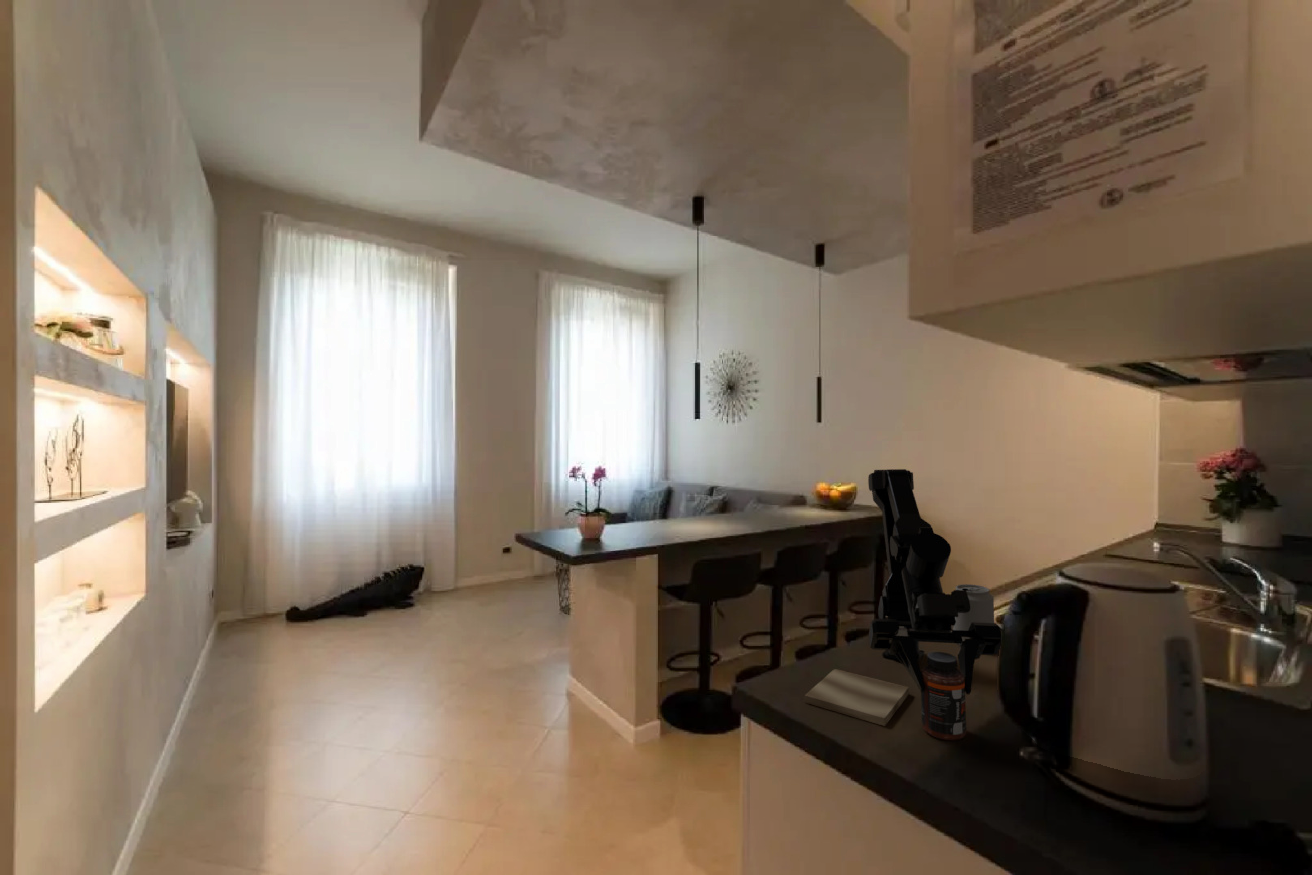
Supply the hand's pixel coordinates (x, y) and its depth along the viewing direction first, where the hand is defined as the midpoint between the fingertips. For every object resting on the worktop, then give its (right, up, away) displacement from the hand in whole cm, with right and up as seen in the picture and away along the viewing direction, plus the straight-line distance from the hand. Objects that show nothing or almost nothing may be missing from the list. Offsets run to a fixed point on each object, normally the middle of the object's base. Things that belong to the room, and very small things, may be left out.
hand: (945, 692), depth 83 cm
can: (+23, -6, +34) cm, 42 cm away
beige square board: (-8, -7, +13) cm, 17 cm away
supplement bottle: (0, -7, +1) cm, 7 cm away
